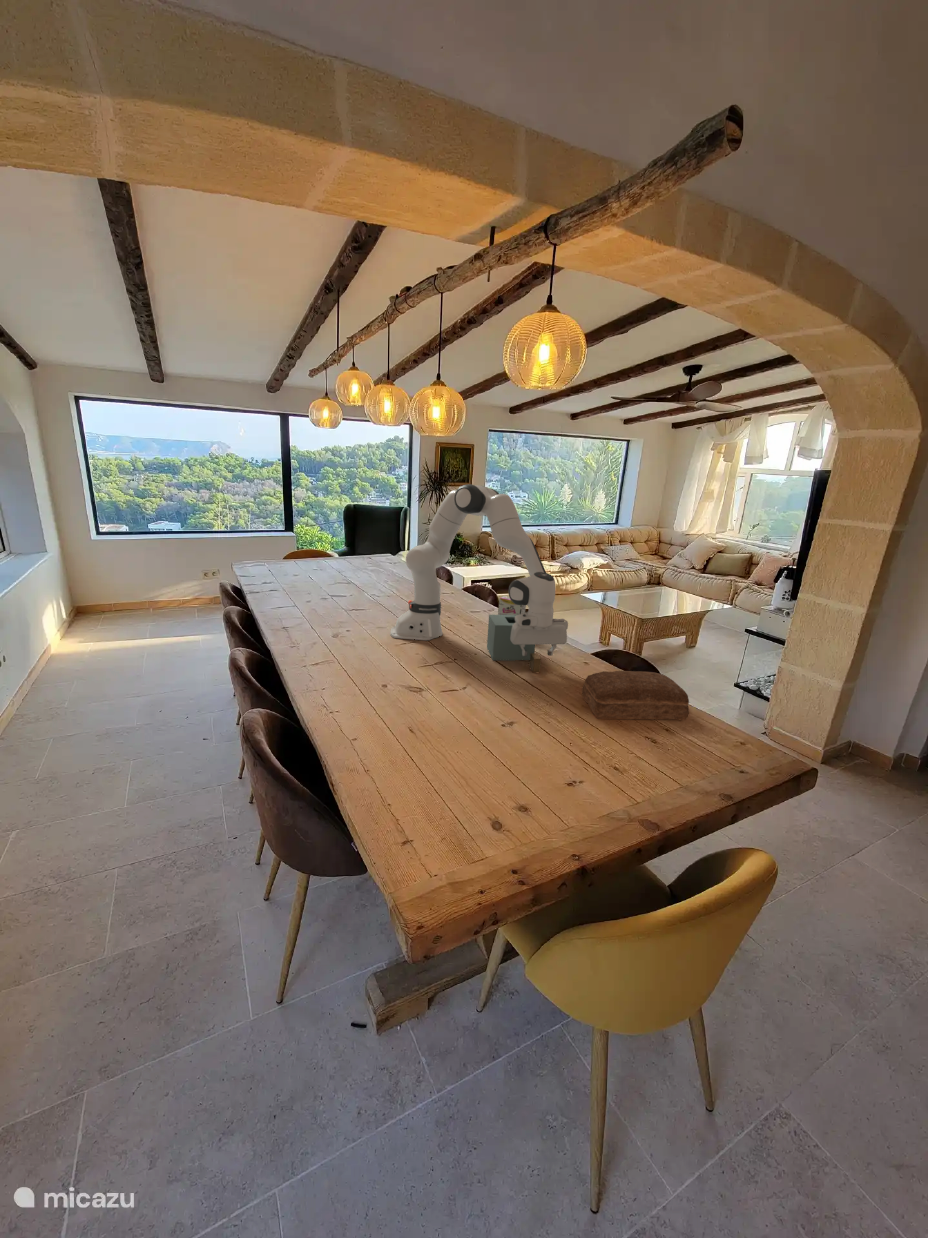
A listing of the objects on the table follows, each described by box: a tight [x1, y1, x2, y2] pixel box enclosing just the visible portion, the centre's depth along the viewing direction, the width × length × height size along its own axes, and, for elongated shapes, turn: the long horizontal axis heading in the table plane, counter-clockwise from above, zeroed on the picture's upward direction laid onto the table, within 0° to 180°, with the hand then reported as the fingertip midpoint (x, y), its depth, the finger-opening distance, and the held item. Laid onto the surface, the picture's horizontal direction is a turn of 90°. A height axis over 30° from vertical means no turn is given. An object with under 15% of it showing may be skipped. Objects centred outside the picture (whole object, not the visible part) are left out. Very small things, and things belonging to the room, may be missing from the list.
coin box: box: [486, 614, 536, 661], centre depth 192 cm, size 16×14×14 cm
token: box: [529, 652, 542, 673], centre depth 178 cm, size 2×6×6 cm, turn 7°
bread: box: [581, 670, 690, 721], centre depth 152 cm, size 17×29×11 cm, turn 93°
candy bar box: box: [497, 595, 527, 615], centre depth 215 cm, size 11×5×16 cm, turn 58°
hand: (537, 655), depth 178 cm, fingers open, 8 cm apart
